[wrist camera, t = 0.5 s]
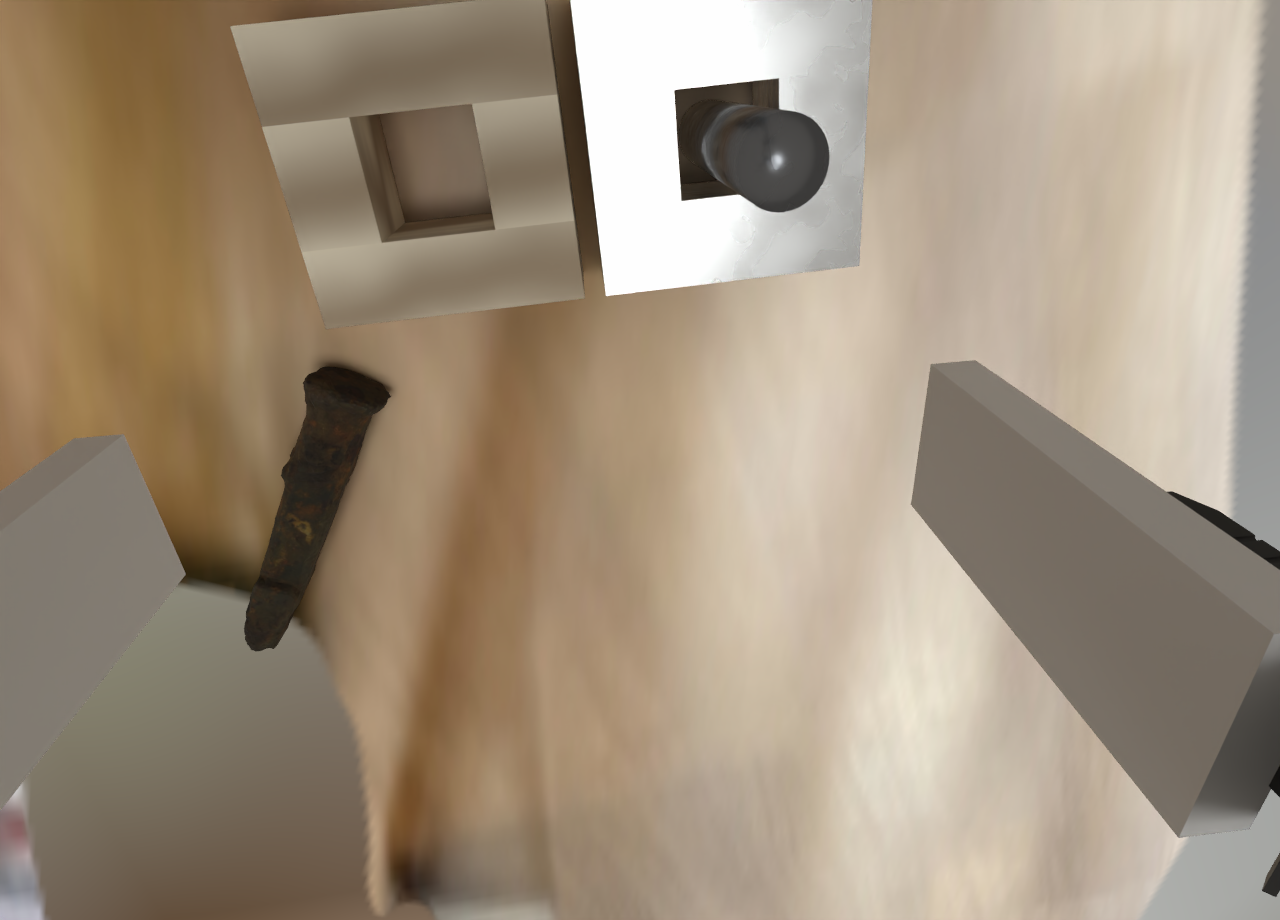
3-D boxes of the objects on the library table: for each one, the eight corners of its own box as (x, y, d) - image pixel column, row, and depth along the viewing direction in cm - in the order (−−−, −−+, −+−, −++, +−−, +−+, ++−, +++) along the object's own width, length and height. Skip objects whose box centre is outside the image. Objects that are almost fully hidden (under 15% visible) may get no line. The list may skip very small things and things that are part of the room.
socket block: (569, 2, 32) (569, -10, 28) (833, -26, 32) (874, -42, 28) (602, 270, 38) (606, 295, 33) (825, 244, 38) (859, 265, 34)
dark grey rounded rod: (676, 103, 34) (735, 116, 22) (737, 96, 34) (831, 105, 22) (680, 169, 36) (737, 217, 23) (740, 163, 36) (828, 207, 24)
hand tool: (325, 352, 39) (295, 384, 35) (396, 383, 40) (376, 417, 36) (233, 602, 46) (200, 653, 42) (296, 622, 47) (270, 674, 43)
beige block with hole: (277, 33, 32) (230, 26, 27) (547, 5, 32) (543, -7, 28) (354, 299, 37) (325, 329, 33) (583, 272, 38) (585, 298, 33)
